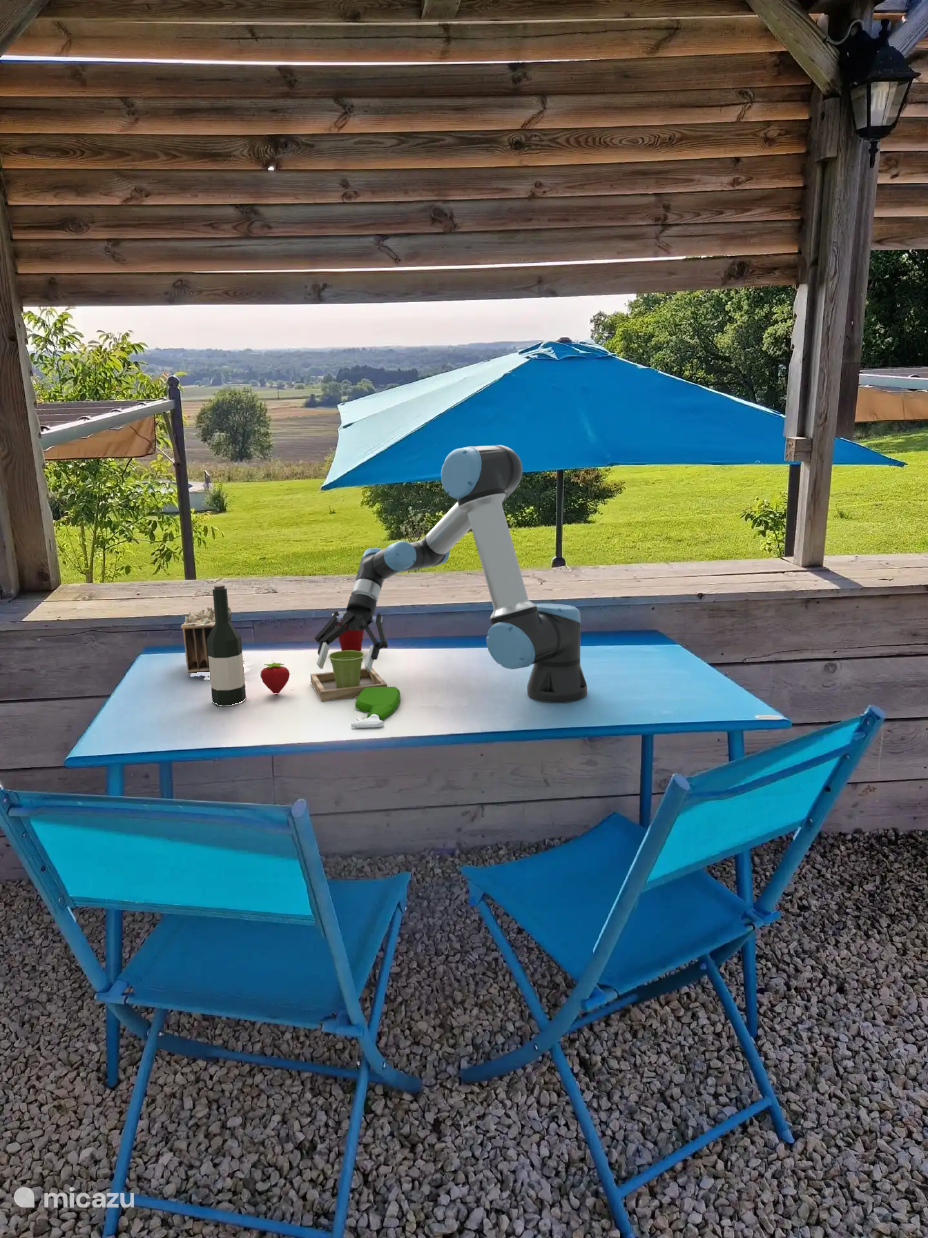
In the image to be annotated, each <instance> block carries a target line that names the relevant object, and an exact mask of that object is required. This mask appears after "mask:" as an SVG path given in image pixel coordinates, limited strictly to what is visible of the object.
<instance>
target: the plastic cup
mask: <svg viewBox="0 0 928 1238" xmlns="http://www.w3.org/2000/svg"><path fill="white" fill-rule="evenodd" d="M337 612H338V613H339V614H345V612H346V611H337ZM333 614H334V612H333V613H332V614H331V615H332V616H333ZM343 620H344V619H342V620H341V622H342V621H343ZM339 624H340V622H339ZM339 624H338V625H339ZM338 625H337V626H338ZM337 626H336V627H337ZM346 626H347V625H346V624H345V627H346ZM336 627H335V628H336ZM364 631H365V629H364V630H362V631H358V630H354V631H351V630H349V631H347V632H344V633H343V634H342V635H340V636H339V637H338V638H337V639H338V642H339V644H340V651H346V650H353V651H361V652H362V647H363V646H362V645H363V639H364Z"/></svg>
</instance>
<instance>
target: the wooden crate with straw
mask: <svg viewBox="0 0 928 1238" xmlns="http://www.w3.org/2000/svg"><path fill="white" fill-rule="evenodd" d="M206 609H207V611H206V612H205V609H202V610H200V611H199V612H196V613H193V612H192V613H191V612H188V616H186V615H185V616H184V622H183V623H182V624H181V626H180V628H181V630H182V635H183V643H184V652H185V654H184V655H185V662H186V668H187V674H189V673H197V672H210V669H209V658H208V648H207V638H208V636H209V634H210V632H211V630H212V628H213V626H214V624H215V611H214V609H213V608H212V607H211V606H210V607H208V606H207V607H206ZM228 609H229V621H230V622H231V623H232V614H233V613H232V610H231V607H230V606H228Z"/></svg>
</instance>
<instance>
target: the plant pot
mask: <svg viewBox="0 0 928 1238" xmlns="http://www.w3.org/2000/svg"><path fill="white" fill-rule="evenodd" d="M364 657H365V653H364V652H363V651H361V652H360V651H353V650H346V651H341V650H340V651H339V650H338V651H334V652H331V653H330V654H328V659H329V660H330V663H331V667H332V672H334V677H335V682H336V687H338V688H347V687H355V686H359V685H360V674H361V668H362V663H363V660H364Z"/></svg>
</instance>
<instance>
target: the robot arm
mask: <svg viewBox="0 0 928 1238" xmlns="http://www.w3.org/2000/svg"><path fill="white" fill-rule="evenodd" d="M441 467H442V468H441V471H440V476H441V477H440V478H441V479H440V480H441V484H442V488H443V490H444V491H445V493H446V494H447V495H448V496H449V497H450V498H453V499H456V503H455V504H454V505H452V507H451V508H450V509H449V511H448V512H447V513H445V514H444V516H443V517H441V519H439V521H438V522H437V523H436V524H435V525H434V527H432V529H431V530H430V531H429V532H428V533H427V534H426V535H425V536H424V537H423V538H422V539H420V540H418V541H411V542H408V541H405V540H399V541H397V542H393V543H391V544H389V545H388V546H387V547H385V548H379V547H370V548H367V549H366V550H364V552H363V555H362V557H361V558H360V561H359V566H358V570H357V573H356V577H355V581H354V583H353V587H352V590H351V592H350V596H349V598H348V602H347V605H346V611H344V612H345V614H339V613H338V612H339V611H337V610H336V611H334V612H333V613H334V614H333V613H332V614H333V615H332V617H331V619H330V620H328V622H327V623H326V624H324V626H323V627H322V628H321V630H320V631H318V633H317V634H316V636H315V637H314V640H315V642H317V645H319V646H318V649H317V654H318V658H317V661H316V665H317V667H318V668H319V669H320V670H323V669H324V666H325V664H326V659H327V657H328V655H329V654H328V653H329V650H330V647H329V646H330V644H331V643H333V642H334V641H336V640H337V639H339V638H338V637H339V636H340V635H342V634H343V633H344V632H347V631H349V630H351V631H354V630H358V631H362V630H364V631H366V633H367V635H368V637H369V639H370V640H371V642H372V644H370V646H369V649H368V653H367V657H366V660H365V663H364V668H366V670H367V672H371V668H373V664H374V662H375V661H377V659H379V654H380V651H381V649H387V648H388V647H389V644H388V641H387V637H386V636H387V635H386V633H385V629H384V617H383V616H382V614H381V612H379V613H377V614H376V615H375V611H376V608H377V603H378V601H379V597H380V595H381V590H382V587H383V585H384V581H385V580H386V579H389V578H391V577H392V576H395V575H397V574H400V573H403V572H409V571H414V570H418V569H424V568H430V567H431V568H432V567H438V566H439V565H443V564H445V563H446V562H447V561H448V560H449V556H450V553H451V552H450V550H451V549H452V548H453V547H454V546H455V545H456V544H457V543H459V541H460V540H462V538H463V537H464V536H465V535H466V534H468V532H469V531H470V530H471V531H472V536H473V540H474V543H475V547H476V550H477V553H478V557H479V560H480V564H481V568H482V572H483V575H484V578H485V582H486V587H487V589H488V593H489V597H490V600H491V604H492V608H493V610H492V613H491V615H490V617H489V620H490V623H491V627H490V628H489V629H488V631H487V635H486V638H485V640H486V646H487V647H486V648H487V650H488V653H489V654H490V656H491V657H492V659H493V660H494V661H495V662H496V664H498V665H500V666H501V667H502V668H504V669H508V670H517V669H523V668H527V667H530V666H531V665H533V666H532V670H531V672H530V676H529V679H528V682H527V685H526V686H527V688H526V694H527V695H528V697H529V698H531V699H533V700H535V701H539V702H543V703H554V704H555V703H559V704H560V703H571V702H577V701H579V700H582V699H584V698H586V697H587V696H588V685H587V682H586V678H585V676H584V672H583V669H582V666H581V631H582V630H581V625H582V621H581V612H580V610H579V608H577V607H576V606H573V605H567V604H561V603H560V604H559V603H534V602H532V601H531V600H530V599H529V597H528V594H527V589H526V586H525V584H524V578H523V575H522V572H521V568H520V565H519V561H518V558H517V553H516V550H515V548H514V547H515V546H514V544H513V540H512V536H511V532H510V530H509V525H508V522H507V518H506V515H505V511H504V508H503V502H505V501H506V499H508V498H509V497H510V496H511V495H512V494H513V492H514V491H515V490H516V489H517V488H518V486H519V484H520V482H521V480H522V478H523V472H524V471H523V464H522V461H521V458H520V456H519V455H518V454H517V453H516V452H515V451H514V450H513V449H512V448H510V447H508V446H506V445H502V444H496V445H495V444H493V445H477V446H475V445H474V446H470V445H468V446H466V447H465V446H464V447H462V448H461V447H460V448H455V449H453V450H452V451H451V452H449V453H448V455H447V456H446V458H445V459H444V463H443V464H442V466H441ZM342 619H344V620H343V621H342V622H341V620H342ZM339 622H340V624H339ZM373 622H374V623H375V624H376V628H377V633H378V637H379V641H378V640H377V638H376V636H375V635H374V633H373V631H372V630H371V628H370V625H371V624H372V623H373ZM338 624H339V625H338ZM345 624H346V625H347V626H346V627H345ZM337 625H338V626H337ZM336 626H337V627H336Z"/></svg>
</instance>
